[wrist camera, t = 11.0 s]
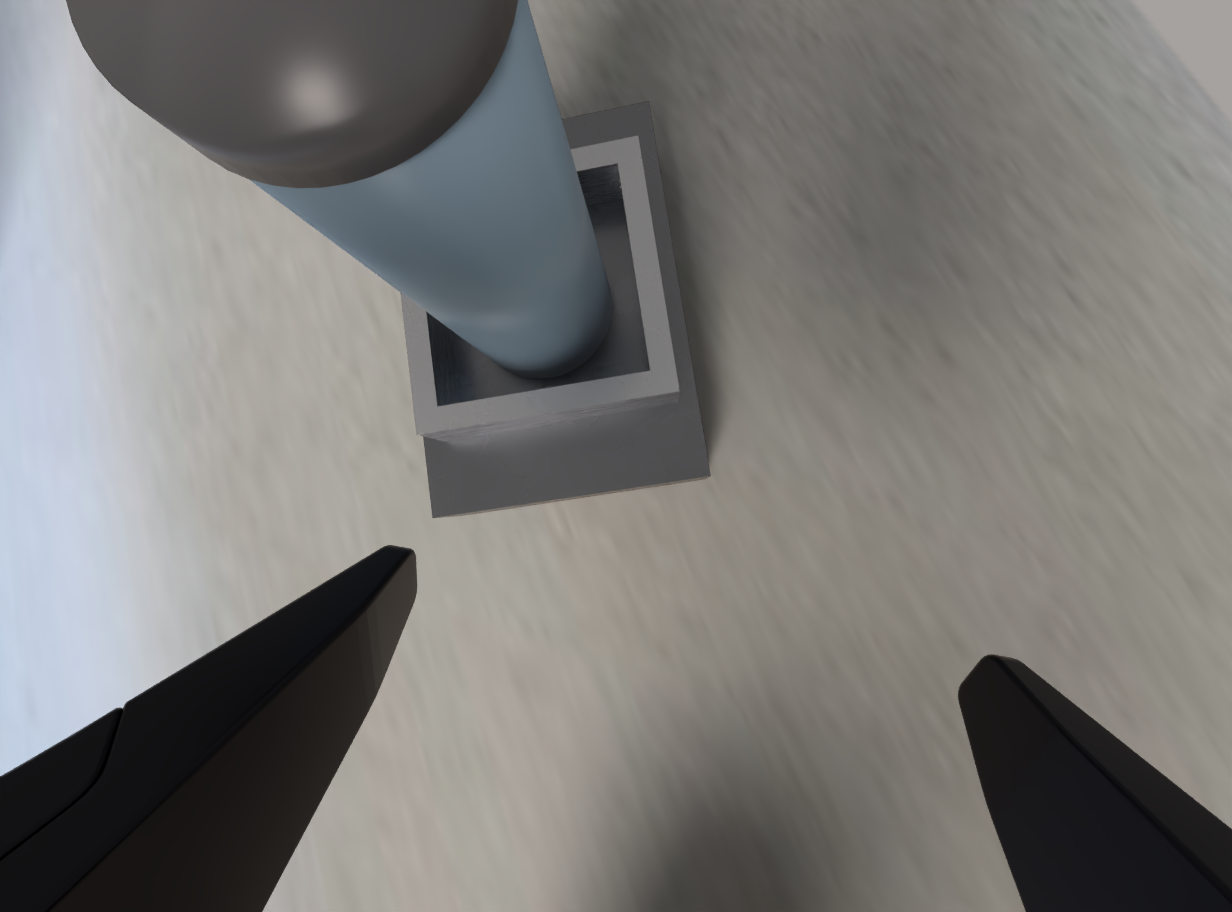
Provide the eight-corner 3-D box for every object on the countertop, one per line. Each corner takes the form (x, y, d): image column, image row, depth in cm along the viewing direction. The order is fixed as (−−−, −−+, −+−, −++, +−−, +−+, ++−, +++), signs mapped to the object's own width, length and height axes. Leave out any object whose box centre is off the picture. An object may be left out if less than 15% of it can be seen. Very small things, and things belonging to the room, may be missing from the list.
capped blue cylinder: (625, 367, 18) (526, 76, 6) (479, 393, 19) (77, 181, 6) (602, 222, 19) (461, -355, 6) (460, 251, 19) (47, -225, 7)
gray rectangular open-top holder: (704, 479, 21) (716, 473, 16) (464, 515, 22) (405, 520, 17) (650, 154, 22) (646, 55, 17) (426, 199, 23) (361, 117, 18)
